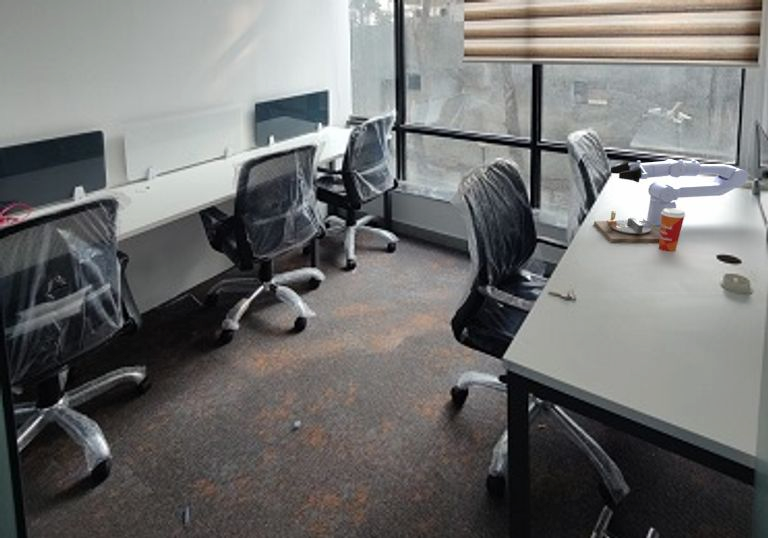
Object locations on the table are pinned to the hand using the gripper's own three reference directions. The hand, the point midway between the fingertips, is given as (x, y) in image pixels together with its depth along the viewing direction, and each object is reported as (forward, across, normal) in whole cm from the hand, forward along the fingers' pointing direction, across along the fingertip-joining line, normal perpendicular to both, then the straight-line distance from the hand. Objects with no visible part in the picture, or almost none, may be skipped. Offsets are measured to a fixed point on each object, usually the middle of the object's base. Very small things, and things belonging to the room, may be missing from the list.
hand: (615, 172), depth 235 cm
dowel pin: (+2, +5, +19) cm, 20 cm away
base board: (-2, +12, +20) cm, 24 cm away
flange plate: (-2, +13, +18) cm, 22 cm away
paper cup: (-8, +30, +20) cm, 37 cm away
